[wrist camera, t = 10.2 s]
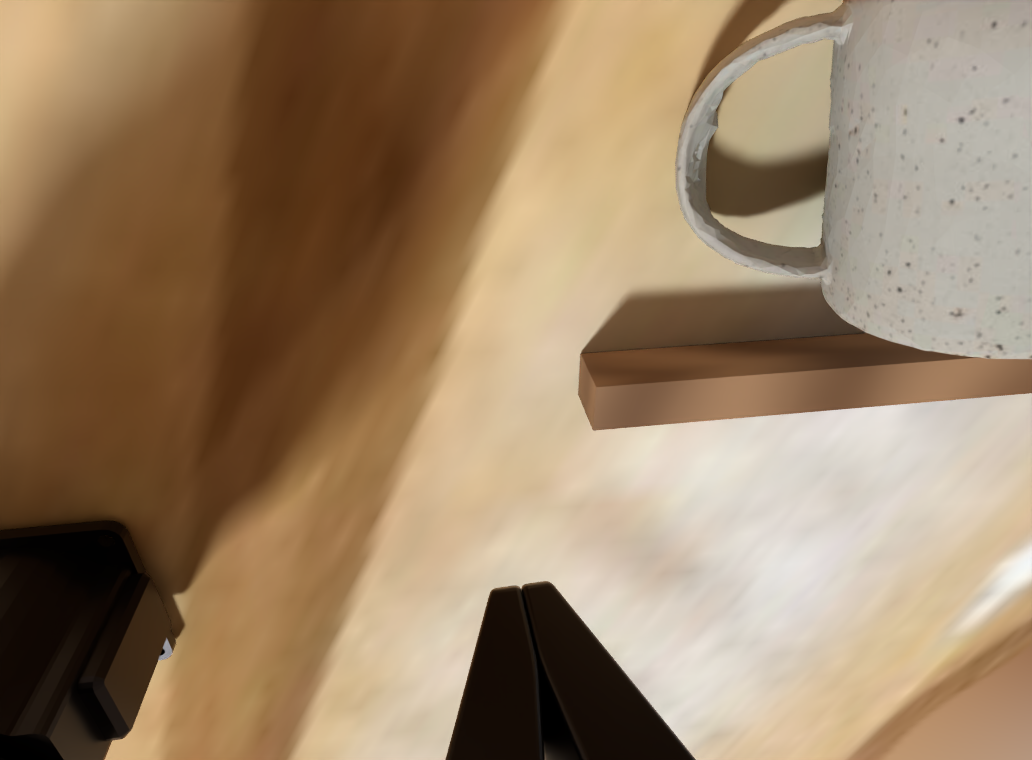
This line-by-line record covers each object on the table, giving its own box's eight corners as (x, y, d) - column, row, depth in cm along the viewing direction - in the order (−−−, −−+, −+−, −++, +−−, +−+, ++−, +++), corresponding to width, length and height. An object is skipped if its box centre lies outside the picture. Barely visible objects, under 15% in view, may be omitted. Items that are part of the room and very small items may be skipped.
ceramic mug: (1076, -129, 15) (1579, -222, 8) (1018, 205, 19) (1322, 314, 13) (639, 4, 15) (796, 13, 9) (678, 303, 20) (803, 458, 13)
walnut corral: (578, 394, 21) (593, 430, 19) (621, -383, 12) (655, -447, 10) (985, 362, 22) (1033, 392, 21) (1290, -341, 13) (1416, -389, 12)
